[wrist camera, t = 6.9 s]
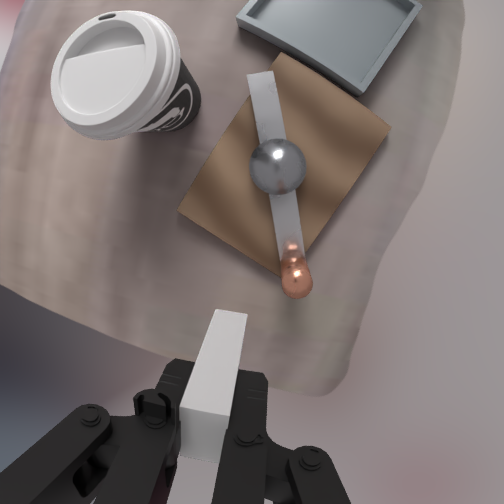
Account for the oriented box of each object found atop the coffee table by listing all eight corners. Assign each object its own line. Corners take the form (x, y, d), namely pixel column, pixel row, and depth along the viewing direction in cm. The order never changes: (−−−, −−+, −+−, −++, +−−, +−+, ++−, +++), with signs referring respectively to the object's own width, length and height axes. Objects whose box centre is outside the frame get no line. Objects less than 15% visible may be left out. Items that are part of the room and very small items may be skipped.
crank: (234, 80, 27) (223, 58, 20) (286, 72, 26) (290, 47, 20) (269, 273, 32) (268, 303, 25) (318, 265, 31) (330, 293, 25)
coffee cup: (231, 77, 28) (199, 16, 14) (191, 160, 31) (127, 161, 17) (153, 50, 28) (82, -6, 13) (116, 128, 30) (24, 116, 16)
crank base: (280, 56, 28) (281, 51, 26) (386, 128, 29) (391, 127, 27) (180, 208, 33) (176, 210, 31) (284, 275, 34) (284, 280, 32)
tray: (307, -50, 23) (309, -62, 20) (414, 13, 24) (423, 5, 22) (238, 26, 27) (235, 16, 24) (357, 97, 28) (363, 92, 26)
